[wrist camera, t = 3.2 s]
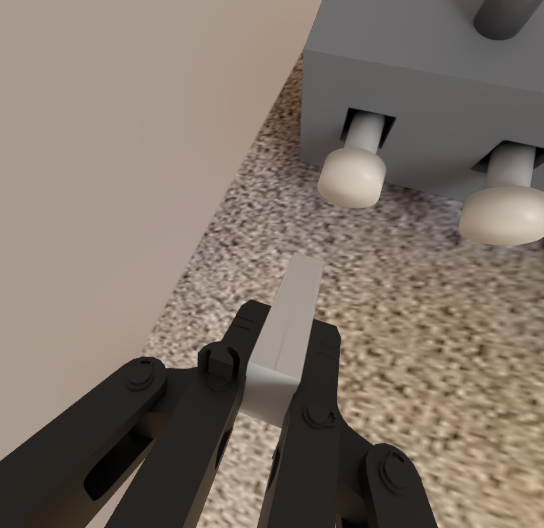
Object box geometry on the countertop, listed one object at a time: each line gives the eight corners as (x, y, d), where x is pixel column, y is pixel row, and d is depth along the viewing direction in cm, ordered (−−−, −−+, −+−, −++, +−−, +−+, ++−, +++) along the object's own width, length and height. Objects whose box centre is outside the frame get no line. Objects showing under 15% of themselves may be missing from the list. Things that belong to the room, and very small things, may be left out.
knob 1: (387, 146, 26) (410, 102, 21) (368, 213, 24) (389, 184, 19) (335, 134, 26) (345, 89, 21) (314, 199, 25) (320, 167, 20)
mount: (528, 150, 29) (709, 17, 16) (518, 215, 28) (708, 122, 15) (318, 106, 32) (334, -33, 20) (299, 161, 31) (303, 49, 18)
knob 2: (519, 175, 24) (580, 136, 19) (508, 250, 23) (570, 229, 17) (460, 162, 25) (503, 120, 20) (445, 233, 23) (487, 208, 18)
